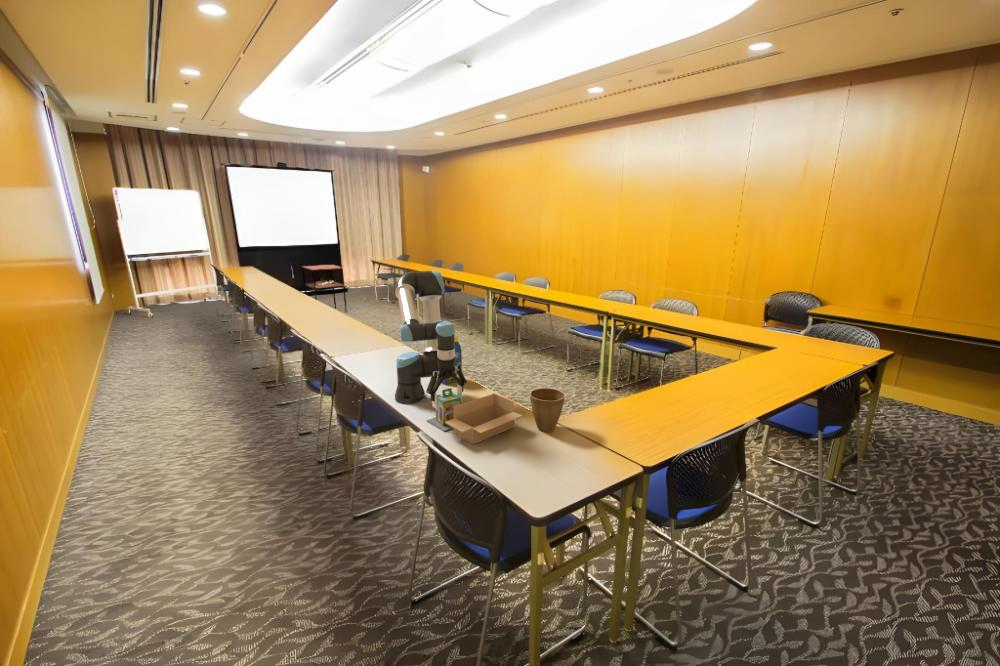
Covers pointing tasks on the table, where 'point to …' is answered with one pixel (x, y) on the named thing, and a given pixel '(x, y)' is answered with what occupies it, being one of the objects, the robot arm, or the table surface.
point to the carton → (483, 418)
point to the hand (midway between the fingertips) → (447, 403)
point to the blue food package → (457, 362)
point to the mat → (439, 425)
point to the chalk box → (446, 406)
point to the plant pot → (546, 407)
